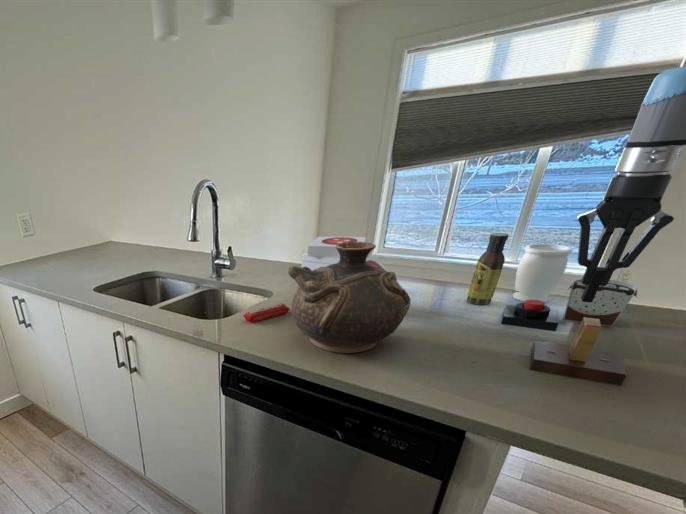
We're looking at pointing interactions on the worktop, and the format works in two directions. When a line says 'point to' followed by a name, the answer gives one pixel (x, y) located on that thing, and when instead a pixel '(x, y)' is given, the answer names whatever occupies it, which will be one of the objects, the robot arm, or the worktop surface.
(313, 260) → the pizza boxes
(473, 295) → the sauce bottle
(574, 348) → the thumb turn
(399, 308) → the vessel
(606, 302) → the food container
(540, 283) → the jar
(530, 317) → the set button box
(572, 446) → the worktop surface
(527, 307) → the set button
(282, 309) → the candy bar
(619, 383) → the plate
